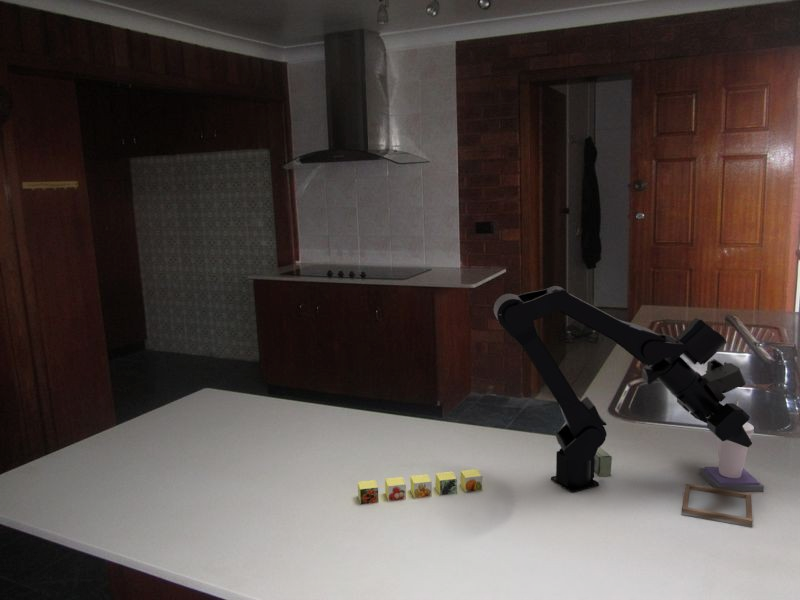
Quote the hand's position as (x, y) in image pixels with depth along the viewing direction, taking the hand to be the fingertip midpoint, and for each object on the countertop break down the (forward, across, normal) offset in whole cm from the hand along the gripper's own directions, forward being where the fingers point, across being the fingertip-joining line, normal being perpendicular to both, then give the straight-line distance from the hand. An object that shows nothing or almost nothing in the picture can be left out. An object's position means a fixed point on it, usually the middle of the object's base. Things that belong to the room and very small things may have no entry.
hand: (741, 438), depth 123 cm
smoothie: (+4, 0, +6) cm, 7 cm away
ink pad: (+5, 0, +7) cm, 9 cm away
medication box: (-11, +9, +24) cm, 28 cm away
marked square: (0, -10, +12) cm, 15 cm away
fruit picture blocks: (-35, -6, +47) cm, 59 cm away
